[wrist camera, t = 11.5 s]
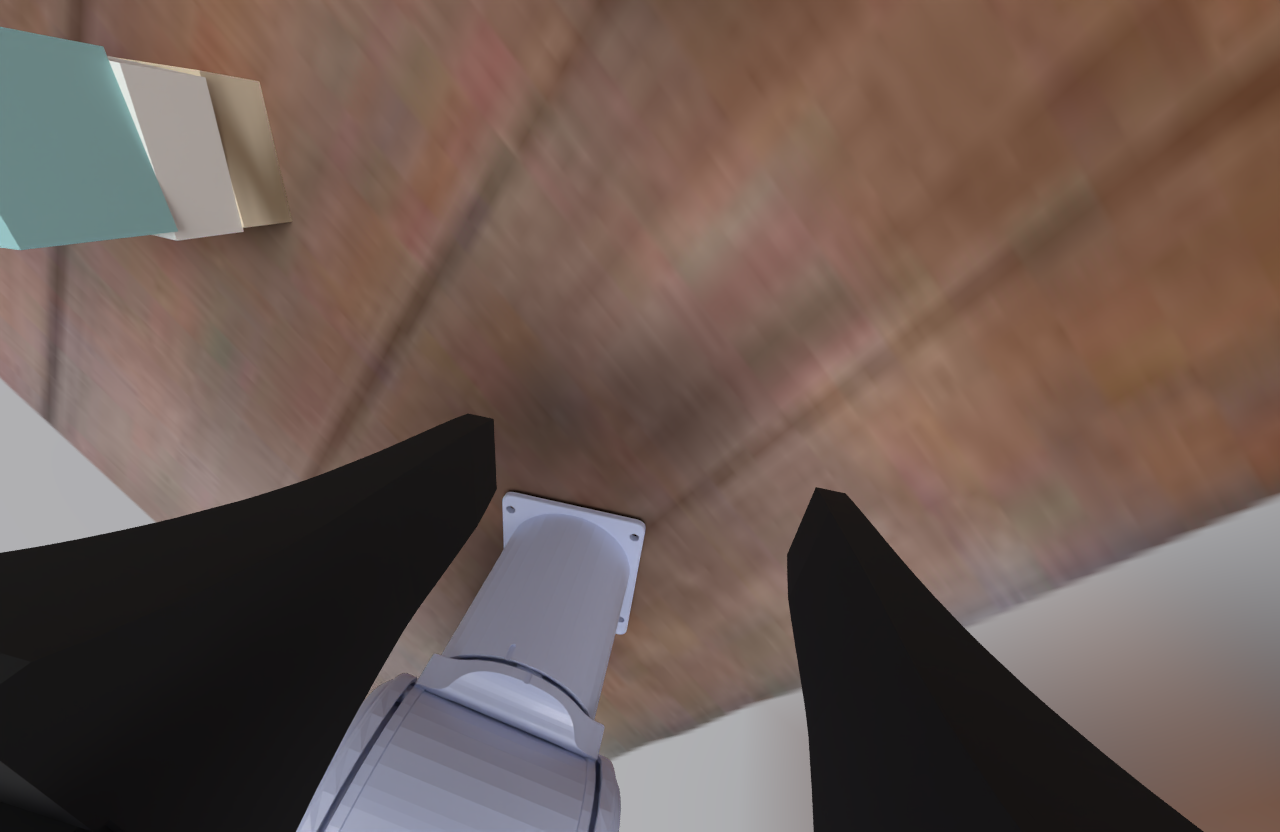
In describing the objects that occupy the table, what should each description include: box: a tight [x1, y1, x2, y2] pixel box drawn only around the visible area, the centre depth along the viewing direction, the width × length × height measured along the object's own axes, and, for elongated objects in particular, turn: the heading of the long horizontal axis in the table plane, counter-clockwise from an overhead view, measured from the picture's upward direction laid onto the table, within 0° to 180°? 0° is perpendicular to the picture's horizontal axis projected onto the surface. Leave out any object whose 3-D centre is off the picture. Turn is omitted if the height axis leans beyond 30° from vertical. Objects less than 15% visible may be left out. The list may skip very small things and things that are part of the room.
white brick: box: [107, 56, 244, 241], centre depth 16 cm, size 5×5×2 cm
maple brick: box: [120, 58, 292, 228], centre depth 18 cm, size 5×5×2 cm
